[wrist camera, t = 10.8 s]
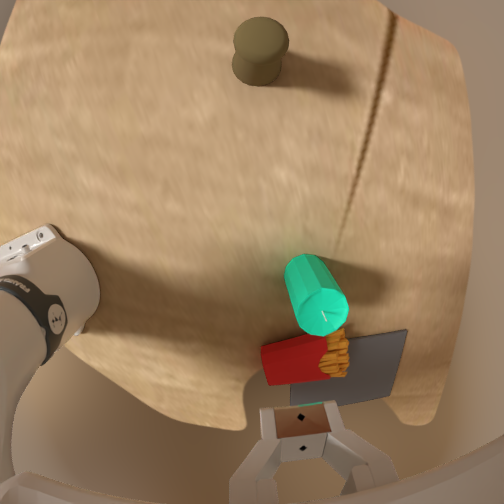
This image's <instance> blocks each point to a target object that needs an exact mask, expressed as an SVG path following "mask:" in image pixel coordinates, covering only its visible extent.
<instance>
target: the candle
mask: <svg viewBox="0 0 504 504" xmlns="http://www.w3.org/2000/svg"><path fill="white" fill-rule="evenodd" d="M284 280H285V283H286V286H287V290H288V293H289V296H290V300H291V303H292V306H293V310H294V313H295V317H296V319H297V322H298V324H299V326H300V328H302V329H303V330H305V331H306V332H307V333H309V334H311V335H317V336H326V335H328V334H330V333H332V332H334V331H336V330H337V329H338V328H339V327H340V326H341V325H342V324H343V323H344V322H345V321H346V319H347V315H348V312H349V306H348V303H347V300H346V297H345V295H344V294H343V292H342V290H341V289H340V287H339V286H338V284H337V282H336V281H335V279H334V278H333V276H332V275H331V273H330V272H329V270H328V268H327V267H326V265H325V264H324V262H323V261H322V260H320V259H319V258H318V257H317V256H315V255H309V254H302V255H300V256H297V257H295V258H293V259H292V260H291V261H290V262H289V263H288V265H287V266H286V268H285V273H284Z"/></svg>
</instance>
